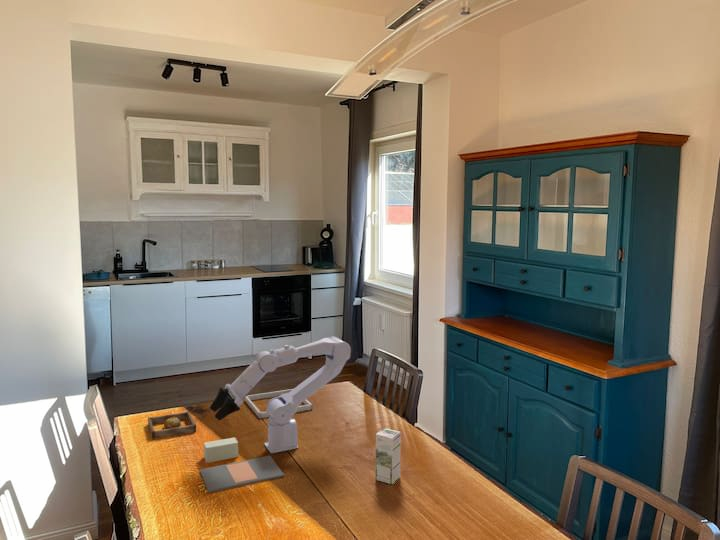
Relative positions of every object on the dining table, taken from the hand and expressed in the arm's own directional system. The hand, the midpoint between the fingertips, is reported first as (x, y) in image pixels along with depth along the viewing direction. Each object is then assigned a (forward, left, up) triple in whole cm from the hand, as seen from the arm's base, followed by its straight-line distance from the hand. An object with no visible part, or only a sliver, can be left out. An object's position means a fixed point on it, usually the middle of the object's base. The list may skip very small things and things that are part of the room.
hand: (214, 414), depth 172 cm
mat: (-5, +14, -15) cm, 21 cm away
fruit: (+8, -30, -15) cm, 35 cm away
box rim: (-33, -37, -15) cm, 52 cm away
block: (-2, 0, -15) cm, 15 cm away
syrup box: (-43, +36, -15) cm, 58 cm away
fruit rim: (+9, -31, -15) cm, 36 cm away
